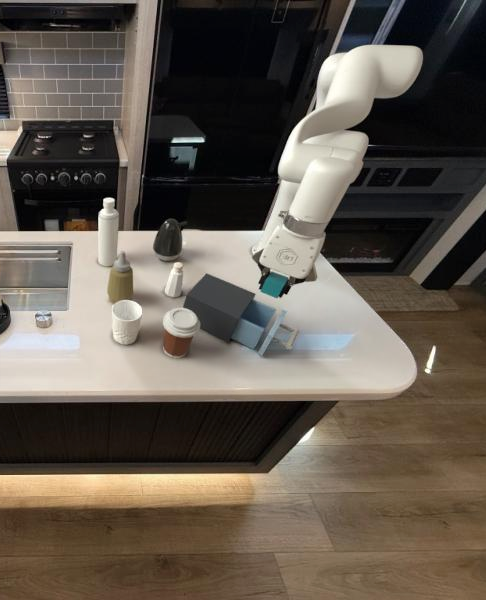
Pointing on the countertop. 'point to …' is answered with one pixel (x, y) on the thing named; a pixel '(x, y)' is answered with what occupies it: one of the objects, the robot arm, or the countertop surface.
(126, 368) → the countertop surface
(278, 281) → the teal cube
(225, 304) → the dark grey drawer cabinet
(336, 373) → the countertop surface
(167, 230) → the pump dispenser
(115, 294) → the squeeze bottle
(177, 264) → the pepper shaker
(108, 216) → the white bottle
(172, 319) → the coffee cup
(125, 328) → the white cup
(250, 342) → the drawer
